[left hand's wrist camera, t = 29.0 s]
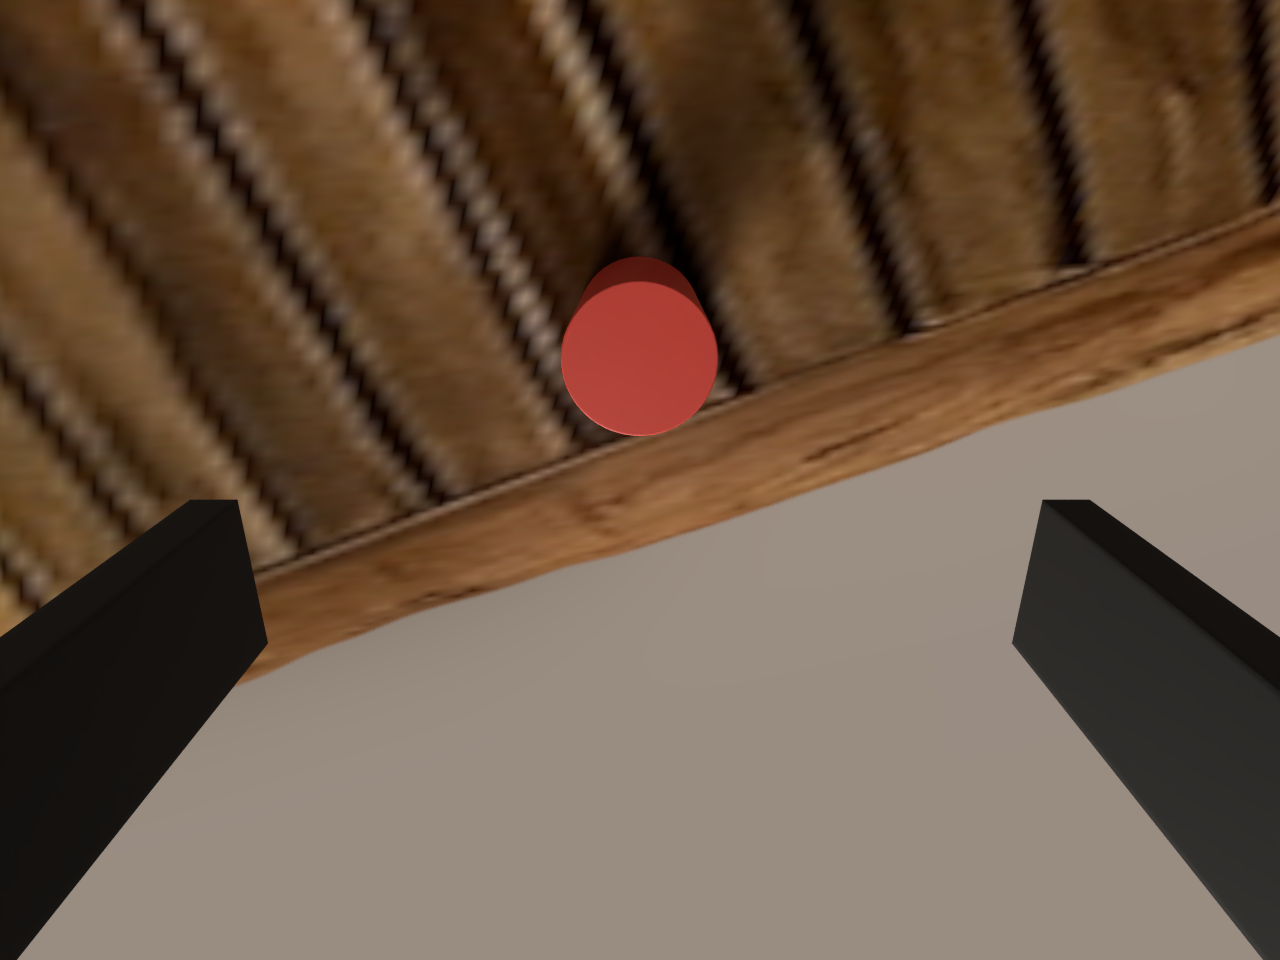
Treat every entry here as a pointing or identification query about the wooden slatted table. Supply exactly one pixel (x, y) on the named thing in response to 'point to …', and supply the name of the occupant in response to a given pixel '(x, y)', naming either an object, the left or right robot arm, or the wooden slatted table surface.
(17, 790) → the left robot arm
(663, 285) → the canister
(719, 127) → the wooden slatted table surface
